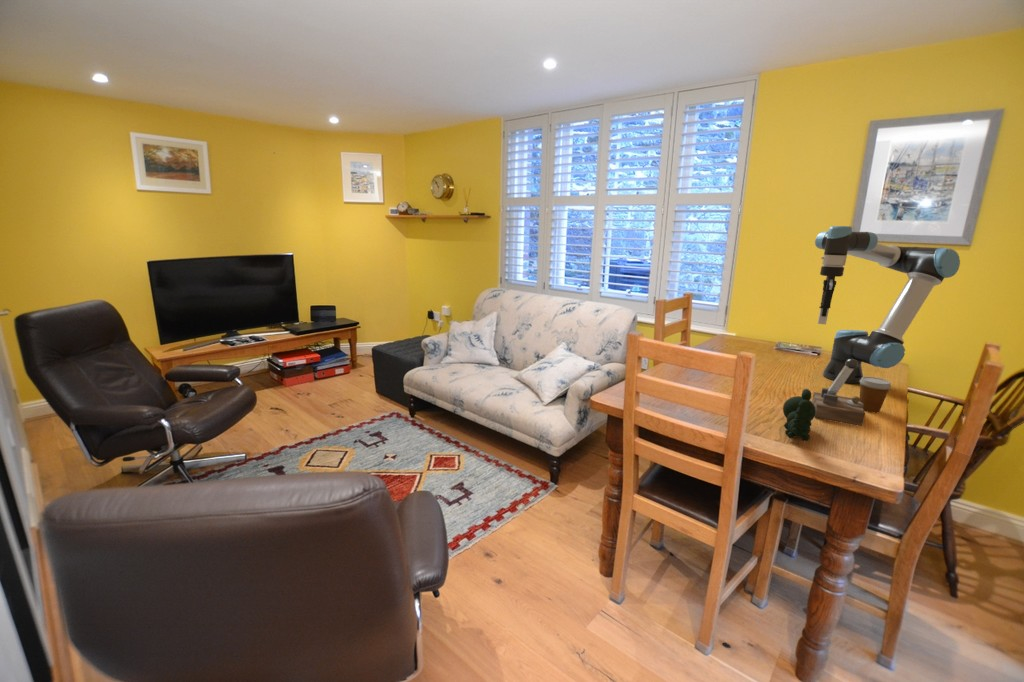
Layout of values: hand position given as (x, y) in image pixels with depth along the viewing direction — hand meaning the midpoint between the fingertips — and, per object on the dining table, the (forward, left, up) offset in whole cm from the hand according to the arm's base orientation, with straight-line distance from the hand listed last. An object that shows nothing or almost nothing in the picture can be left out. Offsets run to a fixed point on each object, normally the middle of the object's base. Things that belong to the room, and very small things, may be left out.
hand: (821, 323), depth 185 cm
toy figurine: (+52, -6, -30) cm, 60 cm away
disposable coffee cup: (+12, +19, -30) cm, 37 cm away
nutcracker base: (+25, +7, -29) cm, 39 cm away
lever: (+25, +4, -23) cm, 34 cm away
